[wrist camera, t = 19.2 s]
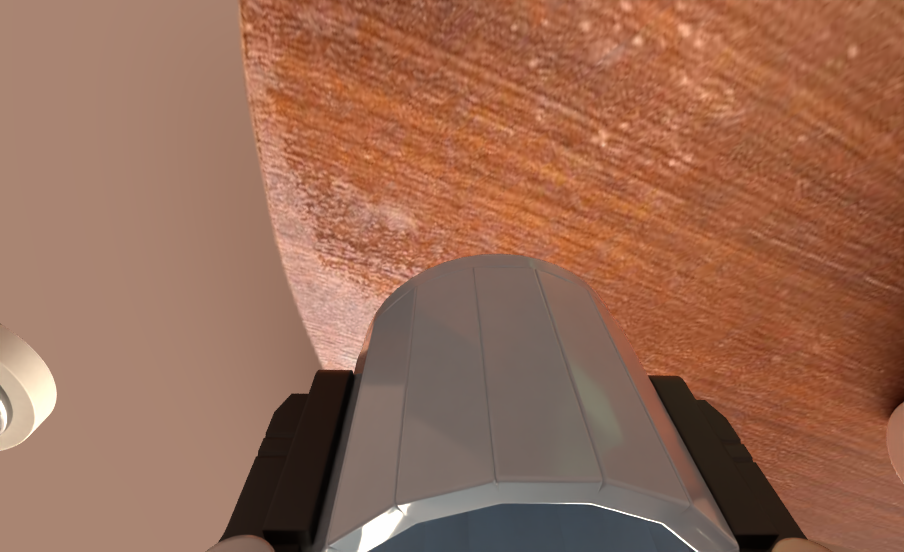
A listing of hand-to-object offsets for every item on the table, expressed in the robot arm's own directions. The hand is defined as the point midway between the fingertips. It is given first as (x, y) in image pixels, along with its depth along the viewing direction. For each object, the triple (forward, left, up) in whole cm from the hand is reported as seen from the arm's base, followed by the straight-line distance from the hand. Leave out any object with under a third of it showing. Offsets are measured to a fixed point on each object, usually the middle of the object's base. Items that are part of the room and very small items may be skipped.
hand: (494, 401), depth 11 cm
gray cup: (0, 0, -1) cm, 1 cm away
